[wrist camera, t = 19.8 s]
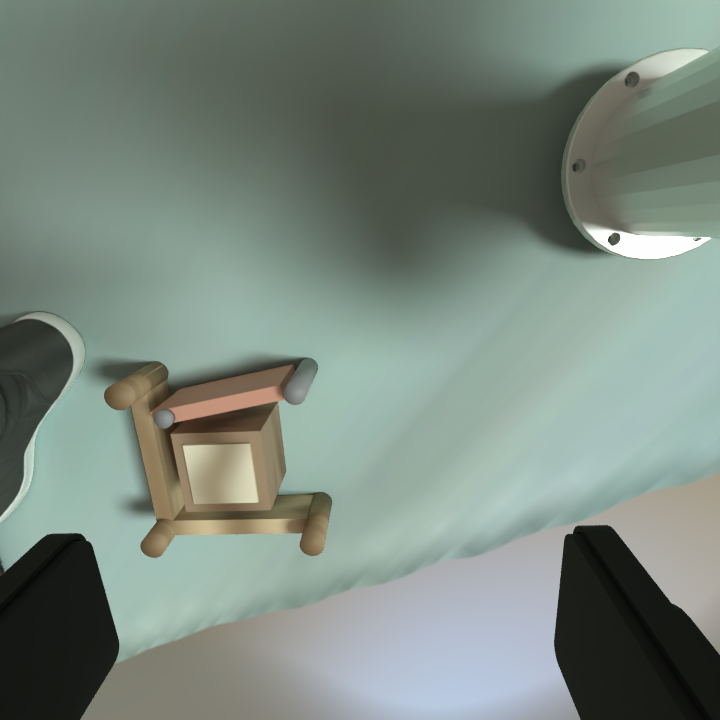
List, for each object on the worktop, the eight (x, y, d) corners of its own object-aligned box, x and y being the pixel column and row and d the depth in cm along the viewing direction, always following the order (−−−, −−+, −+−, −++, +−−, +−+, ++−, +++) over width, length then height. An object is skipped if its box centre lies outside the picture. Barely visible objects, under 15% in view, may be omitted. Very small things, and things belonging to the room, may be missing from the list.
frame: (319, 354, 37) (308, 378, 31) (332, 510, 41) (324, 555, 35) (143, 361, 38) (101, 385, 32) (175, 513, 42) (143, 557, 36)
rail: (315, 356, 37) (302, 381, 31) (320, 373, 37) (308, 402, 31) (180, 385, 38) (142, 415, 32) (186, 402, 38) (150, 435, 32)
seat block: (278, 400, 38) (259, 432, 32) (286, 470, 40) (270, 512, 34) (201, 403, 39) (168, 435, 33) (213, 472, 41) (184, 513, 35)
